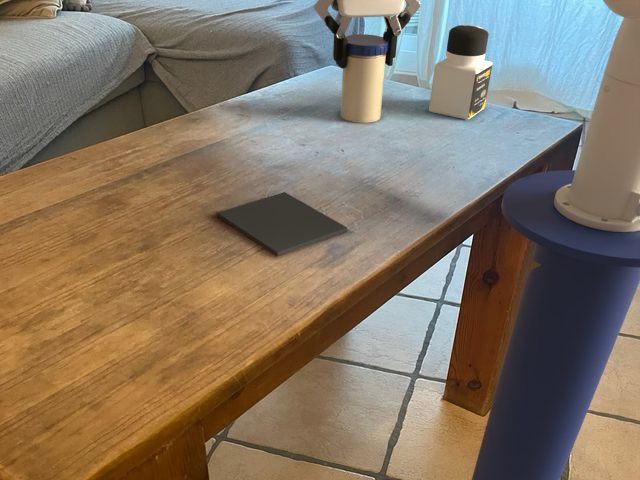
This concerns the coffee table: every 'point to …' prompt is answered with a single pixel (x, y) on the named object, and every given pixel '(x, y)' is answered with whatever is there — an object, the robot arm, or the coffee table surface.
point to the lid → (366, 45)
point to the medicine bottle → (462, 74)
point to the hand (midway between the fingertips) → (364, 63)
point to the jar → (362, 88)
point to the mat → (281, 223)
